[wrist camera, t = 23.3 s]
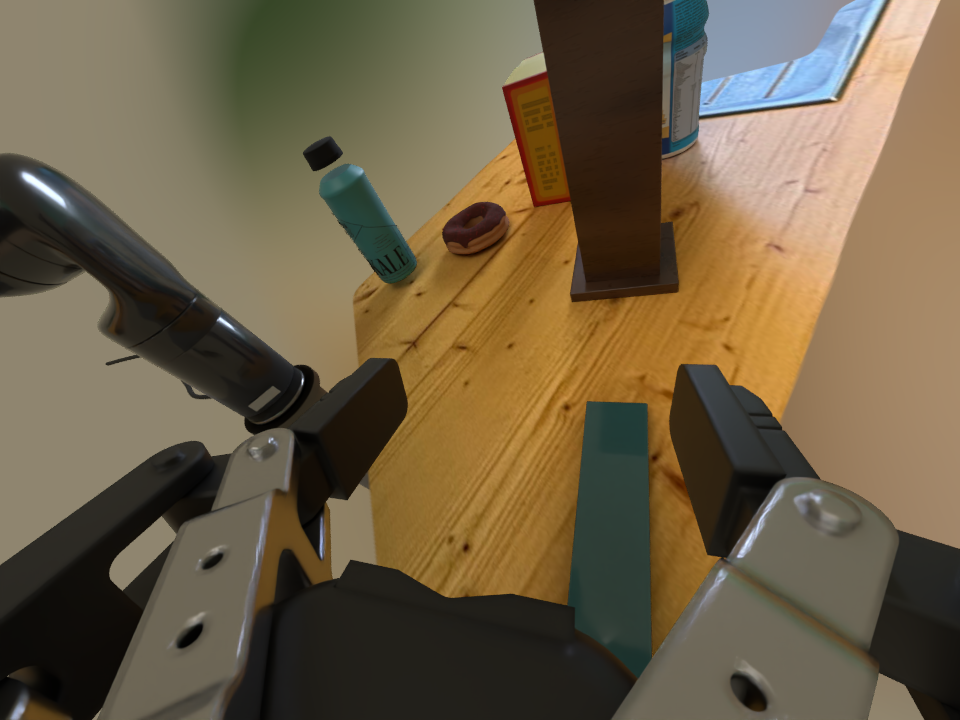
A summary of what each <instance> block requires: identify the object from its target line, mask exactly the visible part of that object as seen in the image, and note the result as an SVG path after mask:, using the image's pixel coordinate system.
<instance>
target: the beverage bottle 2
mask: <svg viewBox="0 0 960 720" xmlns="http://www.w3.org/2000/svg"><path fill="white" fill-rule="evenodd" d="M708 16H709V11H708V5H707V1H706V0H664V37H663V104H662V159H664V158H668V157H671V156H674V155H677V154H679V153H681V152H683V151H685V150H687V149H688V148H689V147H691V146H692V145H693V144H694V143H695V141H696V140H697V138H698V132H699V106H700V95H701V83H702V71H703V60H704V56H705V54H706V51H707V35H706V33H705V31H704V26H705V23H706V21H707V19H708Z"/></svg>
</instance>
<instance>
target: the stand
mask: <svg viewBox="0 0 960 720" xmlns="http://www.w3.org/2000/svg"><path fill="white" fill-rule="evenodd" d="M534 5H535V10H536V16H537V21H538V26H539V32H540V37H541V43H542V48H543V54H544V59H545V64H546V70H547V75H548V81H549V86H550V91H551V97H552V102H553V108H554V113H555V119H556V124H557V129H558V135H559V140H560V146H561V151H562V156H563V162H564V167H565V173H566V178H567V184H568V189H569V194H570V200H571V205H572V211H573V216H574V221H575V227H576V232H577V238H578V246H577V252H576V259H575V266H574V272H573V279H572V285H571V292H570V296H571V300H572V302H576V301H587V300H598V299H608V298H619V297H630V296H641V295H652V294H663V293H673V292H678V285H679V281H678V271H677V262H676V252H675V242H674V232H673V222H666V223H661V172H662V104H663V37H664V0H534Z"/></svg>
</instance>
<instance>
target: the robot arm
mask: <svg viewBox="0 0 960 720" xmlns="http://www.w3.org/2000/svg"><path fill="white" fill-rule="evenodd" d="M84 272H87V273H89V274H90V275H91V276H92V277H94V278H95V279H96V280H97V281H99V282H100V283H101V284H102V285H103V286H104V287H105V288H106V289H107V290H108V292H109V304H108V306H107V308H106V309H105V311H104V312H103V314H102V315H101V317H100V319H99V321H98V330H99V331H100V332H101V333H102V334H103V335H104V336H106V337H107V338H109V339H111V340H112V341H114V342H116V343H117V344H119V345H121V346H122V347H125V348H126V349H128V350H129V351H131V352H133V353H135V354H136V355H133V356H129V357H125V358H121V359H118V360H114V361H111V362H107V363H106V365H112V364H115V363H119V362H122V361H127V360H131V359H135V358H140V357H141V358H143V359H145V360H147V361H148V362H150V363H152V364H154V365H156V366H157V367H159V368H161V369H163V370H164V371H166V372H168V373H169V374H171V375H173V376H175V377H176V378H178V379H180V380H181V381H182V383H183V384H184V386H185V387H186V389H187V392H188V393H189V395H190V396H191V397H192V398H195V399H215V400H216V401H218V402H220V403H222V404H223V405H225V406H226V407H228V408H230V409H232V410H233V411H235V412H237V413H238V414H240V415H242V416H244V417H245V418H247V419H248V420H249V421H251V422H252V423H254V424H256V425H259V426H264V425H268V424H271V423H273V422H275V421H277V420H279V419H280V418H282V417H283V416H284V415H286V414H287V413H288V412H289V411H290V410H291V409H292V408H293V407H294V406H295V405H296V403H297V402H298V401H299V399H300V398H301V396H302V394H303V392H304V390H305V387H306V376H305V374H304V373H303V372H302V371H300V370H299V369H297V368H295V367H294V366H293V365H292V364H290V363H289V362H288V361H287V360H285V359H284V358H283V357H282V356H281V355H279V354H278V353H277V352H275V351H274V350H273V349H272V348H271V347H269V346H268V345H267V344H266V343H264V342H263V341H262V340H261V339H259V338H258V337H257V336H256V335H254V334H253V333H252V332H250V331H249V330H248V329H247V328H246V327H244V326H243V325H242V324H240V323H239V322H238V321H237V320H235V319H234V318H233V317H232V316H231V315H229V314H228V313H227V312H225V311H224V310H223V309H222V308H220V307H219V306H218V305H217V304H215V303H214V302H213V301H211V300H210V299H209V298H208V297H206V296H205V295H204V294H203V293H201V292H200V291H199V290H198V289H196V288H195V287H194V286H193V285H191V284H190V283H189V282H188V281H187V280H186V279H185V278H184V277H183V276H182V275H181V274H180V273H179V271H177V269H176V268H175V267H174V266H173V265H172V263H171V262H170V261H169V260H168V259H166V258H165V257H164V256H163V255H162V254H161V253H160V252H159V251H157V250H156V249H155V248H154V247H152V246H151V245H150V244H149V243H148V242H147V241H146V240H144V239H143V238H142V237H141V236H140V235H139V234H138V233H137V232H135V231H134V230H133V229H132V228H131V227H130V226H129V225H128V224H126V223H125V222H124V221H123V220H122V219H121V218H120V217H119V216H118V215H116V214H115V213H114V212H113V211H112V210H111V209H110V208H109V207H107V206H106V205H105V204H104V203H103V202H102V201H100V200H99V199H98V198H97V197H96V196H94V195H93V194H92V193H91V192H89V191H88V190H86V189H85V188H84V187H83V186H82V185H80V184H79V183H78V182H76V181H75V180H73V179H72V178H70V177H68V176H67V175H65V174H64V173H62V172H61V171H59V170H57V169H55V168H53V167H51V166H49V165H47V164H45V163H43V162H41V161H39V160H36V159H33V158H31V157H28V156H24V155H19V154H14V153H2V154H0V297H13V296H23V295H31V294H37V293H42V292H46V291H49V290H52V289H55V288H57V287H59V286H61V285H63V284H65V283H67V282H68V281H71V280H72V279H74V278H76V277H77V276H79V275H81V274H82V273H84ZM191 386H192V387H194V388H195V389H197V390H199V391H201V392H202V393H204V394H206V395H198V394H195V393H194V391H193V390H192V387H191ZM407 408H408V401H407V396H406V393H405V389H404V385H403V381H402V377H401V374H400V370H399V366H398V363H397V362H396V360H394V359H391V358H370V359H368V360H367V361H366V362H365V363H364V364H363V365H361V366H360V367H359V368H358V369H357V370H356V371H355V372H354V373H353V374H352V375H350V376H348V377H347V378H345V379H343V380H341V381H340V382H339V383H337V384H336V385H335V386H334V387H333V388H332V389H331V390H330V391H329V393H326V394H325V395H324V396H323V397H322V398H321V399H320V402H319V401H317V402H316V403H315V404H314V405H313V406H312V407H311V408H310V409H308V410H307V411H306V412H305V413H304V414H303V415H302V416H301V417H300V418H298V419H297V420H296V421H295V422H294V423H293V424H292V425H291V426H290V427H289V428H287V429H286V428H275V429H270V430H267V431H264V432H261V433H259V434H256V435H254V436H253V437H251V438H249V439H247V440H246V441H244V442H243V443H242V444H240V445H239V446H238V447H237V448H236V449H235V450H234V451H233V453H232V454H225V455H219V456H212V457H211V456H210V454H209V452H208V451H207V449H206V448H205V446H204V445H203V443H201V442H198V441H189V442H184V443H180V444H177V445H174V446H171V447H169V448H167V449H164V450H162V451H160V452H159V453H157V454H155V455H153V456H152V457H150V458H149V459H147V460H146V461H145V462H143V463H142V464H140V465H139V466H138V467H136V468H135V469H133V470H132V471H131V472H129V473H128V474H127V475H125V476H124V477H122V478H121V479H120V480H118V481H117V482H115V483H114V484H113V485H111V486H110V487H108V488H107V489H106V490H104V491H103V492H101V493H100V494H99V495H98V496H96V497H94V498H93V499H92V500H90V501H89V502H88V503H86V504H85V505H83V506H82V507H81V508H79V509H78V510H76V511H75V512H74V513H72V514H71V515H69V516H68V517H67V518H65V519H64V520H63V521H61V522H60V523H58V524H57V525H56V526H54V527H53V528H51V529H50V530H49V531H47V532H46V533H44V534H43V535H42V536H40V537H39V538H37V539H36V540H35V541H33V542H32V543H30V544H29V545H28V546H26V547H25V548H24V549H22V550H21V551H19V552H18V553H17V554H15V555H14V556H12V557H11V558H10V559H8V560H7V561H5V562H4V563H3V564H1V565H0V720H92V719H93V718H94V717H95V715H96V714H97V713H98V712H99V711H100V710H101V708H102V710H101V712H100V714H99V717H98V719H97V720H868V716H869V712H870V708H871V704H872V700H873V696H874V692H875V687H876V684H877V680H878V674H879V673H880V674H883V675H885V676H887V677H889V678H891V679H893V680H895V681H898V682H900V683H902V684H904V685H905V686H906V688H907V689H908V691H909V693H910V695H911V696H912V698H913V700H914V702H915V704H916V705H917V707H918V709H919V711H920V713H921V715H922V716H923V718H924V720H960V549H958V548H955V547H951V546H948V545H945V544H942V543H938V542H935V541H932V540H929V539H925V538H922V537H919V536H915V535H913V534H909V533H906V532H903V531H900V530H897V529H895V527H894V525H893V524H892V522H891V521H890V520H889V518H888V517H887V516H885V514H884V513H883V512H882V511H881V510H879V509H878V508H877V507H876V506H874V505H873V504H872V503H870V502H869V501H867V500H866V499H864V498H863V497H861V496H859V495H857V494H856V493H854V492H852V491H850V490H847V489H845V488H843V487H840V486H838V485H835V484H833V483H829V482H826V481H823V480H821V479H820V478H819V476H818V475H817V474H816V472H815V471H814V470H813V468H812V467H811V466H810V464H809V463H808V462H807V460H806V459H805V457H804V456H803V455H802V453H801V452H800V451H799V449H798V448H797V447H796V445H795V444H794V442H793V441H792V440H791V438H790V437H789V436H788V434H787V433H786V432H785V431H782V426H781V425H780V424H779V422H778V421H777V419H776V418H775V417H772V413H771V411H770V410H769V409H768V407H767V406H766V405H765V403H764V402H763V401H762V399H761V398H759V397H758V396H756V395H755V394H753V393H752V392H750V391H749V390H747V389H746V388H744V387H743V386H735V385H729V384H728V382H727V380H726V379H725V377H724V376H723V374H722V373H721V371H720V370H719V368H718V367H717V366H716V365H698V364H681V365H680V366H679V368H678V371H677V377H676V382H675V388H674V394H673V399H672V405H671V411H670V420H669V425H670V435H671V439H672V442H673V446H674V449H675V452H676V455H677V458H678V462H679V465H680V468H681V471H682V474H683V478H684V481H685V484H686V487H687V491H688V494H689V497H690V500H691V503H692V507H693V510H694V513H695V516H696V519H697V523H698V526H699V529H700V532H701V536H702V539H703V542H704V545H705V548H706V552H707V555H711V556H718V557H722V558H720V559H719V560H718V561H717V562H716V564H715V565H714V566H713V568H712V569H711V571H710V572H709V574H708V575H707V577H706V578H705V580H704V581H703V583H702V584H701V586H700V587H699V589H698V590H697V592H696V593H695V595H694V596H693V598H692V599H691V601H690V602H689V604H688V605H687V607H686V608H685V610H684V611H683V613H682V614H681V616H680V617H679V619H678V620H677V622H676V623H675V625H674V626H673V628H672V629H671V631H670V632H669V634H668V635H667V637H666V638H665V640H664V641H663V643H662V644H661V646H660V647H659V649H658V650H657V652H656V653H655V655H654V656H653V658H652V659H651V661H650V662H649V664H648V665H647V667H646V668H645V670H644V671H643V673H642V674H641V676H640V677H639V679H638V678H637V677H636V676H635V675H634V674H633V673H632V672H631V671H630V670H629V669H628V668H627V667H626V666H625V665H624V664H623V662H622V661H621V660H619V659H618V658H617V657H616V656H615V655H614V654H613V653H611V652H610V651H609V650H608V649H607V648H606V647H604V646H603V645H602V644H600V643H599V642H597V641H596V640H594V639H593V638H592V637H590V636H589V635H587V634H585V633H583V632H581V631H579V630H577V629H576V628H575V607H571V606H567V605H562V604H557V603H552V602H548V601H543V600H538V599H534V598H529V597H524V596H519V595H515V594H502V595H488V596H474V597H459V598H448V597H444V596H442V595H440V594H438V593H437V592H435V591H433V590H432V589H430V588H428V587H427V586H425V585H423V584H421V583H420V582H418V581H416V580H415V579H413V578H411V577H410V576H408V575H406V574H404V573H403V572H401V571H399V570H397V569H392V568H387V567H383V566H378V565H373V564H368V563H363V562H359V561H354V560H350V562H349V563H348V565H347V567H346V568H345V570H344V572H343V574H342V575H341V577H340V578H337V579H333V578H332V571H331V534H330V509H329V507H328V505H327V503H326V501H327V500H328V498H329V497H330V498H336V499H343V500H348V499H349V497H350V496H351V494H352V493H353V491H354V490H355V489H356V487H357V486H358V484H359V483H360V481H361V480H362V478H363V477H364V476H365V474H366V473H367V471H368V470H369V468H370V467H371V466H372V464H373V463H374V461H375V460H376V458H377V457H378V456H379V454H380V453H381V451H382V450H383V448H384V447H385V446H386V444H387V443H388V441H389V440H390V438H391V437H392V436H393V434H394V433H395V431H396V430H397V428H398V427H399V426H400V424H401V423H402V421H403V420H404V418H405V416H406V413H407ZM161 516H162V517H163V518H164V519H165V521H166V522H167V523H168V524H169V525H170V527H171V528H172V529H173V530H174V532H175V533H176V534H177V536H176V538H175V540H174V541H173V542H172V543H171V544H170V545H169V546H168V547H167V548H166V549H165V550H164V551H163V552H162V553H161V554H160V555H159V556H158V557H157V558H156V559H155V560H154V561H153V562H152V563H151V564H150V565H149V566H148V567H147V568H146V569H144V570H143V572H141V573H140V574H139V575H138V577H136V578H135V579H134V580H133V581H132V582H131V583H130V584H129V585H128V587H126V588H125V589H124V590H123V591H122V590H121V589H119V588H118V587H117V586H116V585H115V584H114V583H113V582H112V581H111V580H110V577H109V570H110V567H111V564H112V562H113V561H114V559H115V558H116V556H117V555H118V554H119V553H120V552H121V551H122V550H124V549H125V548H126V547H127V546H128V545H129V544H130V543H131V542H132V541H134V540H135V539H136V538H137V537H138V536H139V535H140V534H142V533H143V532H144V531H145V530H146V529H147V528H148V527H150V526H151V525H152V524H153V523H154V522H155V521H156V520H157V519H158V518H160V517H161ZM723 557H724V558H726V559H724V558H723ZM8 675H9V677H7V676H8Z"/></svg>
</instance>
